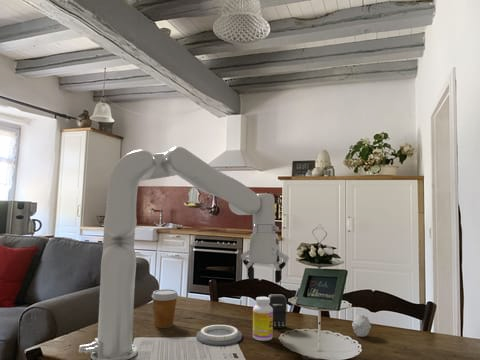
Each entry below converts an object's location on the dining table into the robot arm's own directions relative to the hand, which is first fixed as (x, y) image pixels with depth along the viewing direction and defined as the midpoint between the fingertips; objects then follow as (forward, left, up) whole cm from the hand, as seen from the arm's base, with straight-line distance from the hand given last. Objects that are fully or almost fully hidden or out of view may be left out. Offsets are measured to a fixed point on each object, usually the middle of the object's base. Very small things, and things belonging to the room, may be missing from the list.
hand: (264, 280), depth 119 cm
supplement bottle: (0, 0, -19) cm, 19 cm away
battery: (+11, +6, -19) cm, 22 cm away
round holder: (-12, +8, -19) cm, 24 cm away
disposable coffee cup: (-23, +29, -19) cm, 42 cm away
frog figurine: (+30, -16, -19) cm, 38 cm away
